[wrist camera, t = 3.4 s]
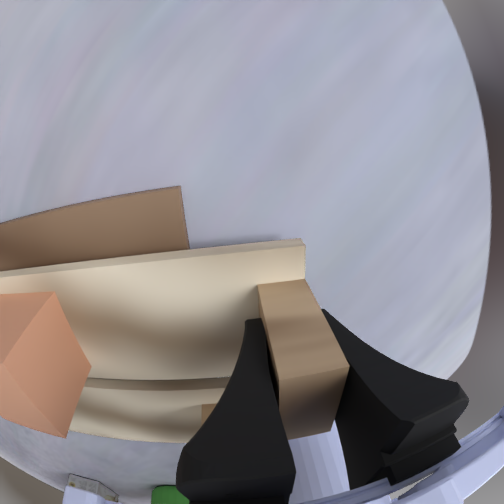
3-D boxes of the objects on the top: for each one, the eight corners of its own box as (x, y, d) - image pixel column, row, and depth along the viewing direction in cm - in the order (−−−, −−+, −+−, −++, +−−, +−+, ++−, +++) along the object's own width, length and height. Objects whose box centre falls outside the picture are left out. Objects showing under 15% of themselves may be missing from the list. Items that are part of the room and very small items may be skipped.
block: (91, 366, 13) (65, 438, 8) (32, 360, 12) (3, 418, 8) (54, 291, 10) (2, 363, 6) (-3, 294, 10) (-50, 349, 6)
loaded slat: (297, 356, 14) (325, 445, 9) (14, 359, 13) (-17, 415, 8) (300, 238, 12) (358, 326, 6) (-29, 275, 10) (-79, 326, 5)
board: (229, 426, 19) (230, 432, 18) (22, 406, 17) (20, 410, 17) (180, 185, 11) (178, 188, 10) (-66, 246, 10) (-71, 249, 9)
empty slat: (242, 431, 18) (250, 498, 12) (35, 415, 16) (18, 460, 11) (231, 376, 15) (239, 467, 9) (-5, 363, 13) (-33, 411, 8)
